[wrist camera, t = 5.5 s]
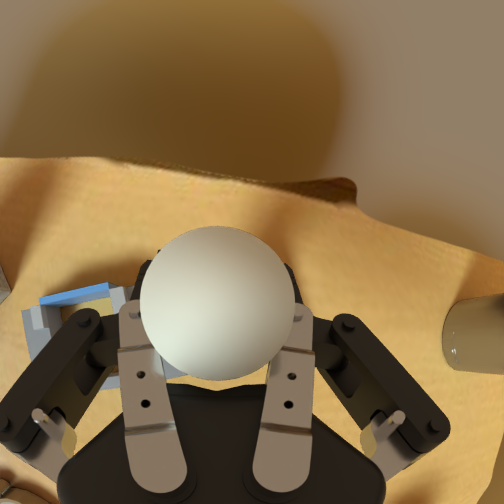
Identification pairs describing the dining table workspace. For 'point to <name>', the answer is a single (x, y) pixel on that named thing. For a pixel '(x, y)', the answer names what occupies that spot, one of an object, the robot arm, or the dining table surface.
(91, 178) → the dining table surface
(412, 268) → the dining table surface
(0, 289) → the coffee box
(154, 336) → the white capped cylinder
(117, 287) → the grey slotted holder frame
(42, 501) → the alarm clock
